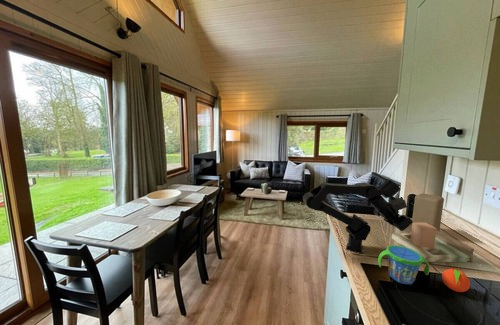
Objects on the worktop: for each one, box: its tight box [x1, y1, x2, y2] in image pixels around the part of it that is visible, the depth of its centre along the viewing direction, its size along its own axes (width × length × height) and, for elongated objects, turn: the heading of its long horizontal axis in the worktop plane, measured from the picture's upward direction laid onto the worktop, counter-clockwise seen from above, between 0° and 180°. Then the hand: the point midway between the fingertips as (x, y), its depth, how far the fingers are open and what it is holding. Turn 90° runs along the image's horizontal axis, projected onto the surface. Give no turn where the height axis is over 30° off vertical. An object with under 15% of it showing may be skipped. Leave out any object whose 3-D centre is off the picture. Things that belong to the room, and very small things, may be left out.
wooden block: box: [410, 192, 445, 232], centre depth 114 cm, size 10×10×20 cm
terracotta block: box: [410, 223, 437, 247], centre depth 97 cm, size 6×6×9 cm
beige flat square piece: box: [391, 230, 475, 263], centre depth 98 cm, size 20×20×6 cm
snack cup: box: [377, 245, 431, 286], centre depth 77 cm, size 16×10×10 cm
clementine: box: [441, 268, 471, 293], centre depth 72 cm, size 8×7×7 cm
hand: (402, 228), depth 96 cm, fingers closed
